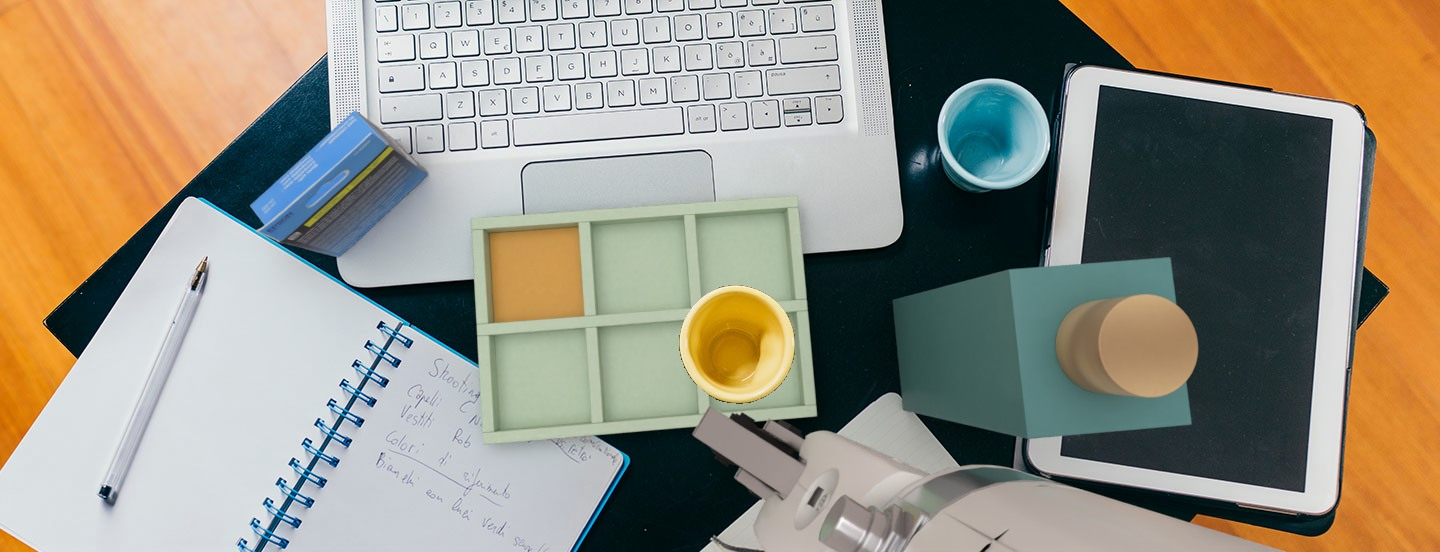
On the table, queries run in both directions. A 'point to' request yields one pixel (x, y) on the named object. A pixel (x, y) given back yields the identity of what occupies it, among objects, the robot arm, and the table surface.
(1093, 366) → the tan cylinder
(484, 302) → the grid
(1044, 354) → the plinth
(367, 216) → the label tape box
